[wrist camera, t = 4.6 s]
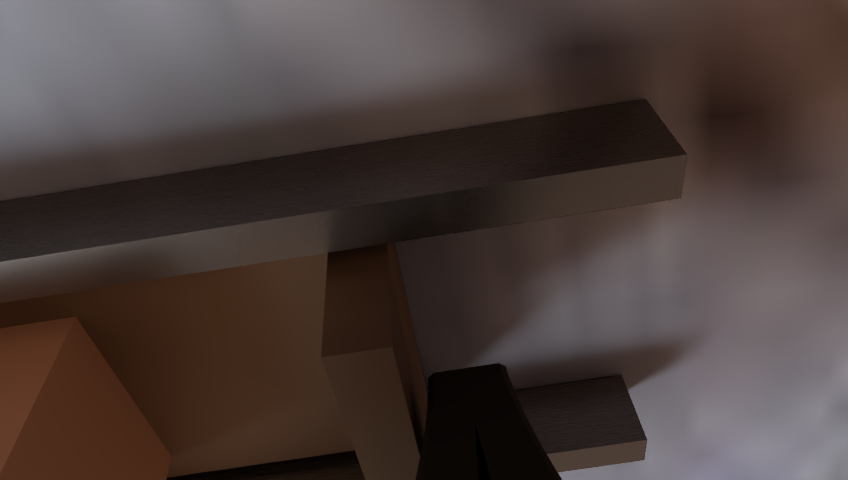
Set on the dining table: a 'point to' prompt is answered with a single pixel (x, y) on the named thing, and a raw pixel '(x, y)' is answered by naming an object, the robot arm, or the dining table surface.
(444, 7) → the dining table surface
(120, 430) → the block
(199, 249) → the lane rails
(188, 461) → the brown boxy piece
